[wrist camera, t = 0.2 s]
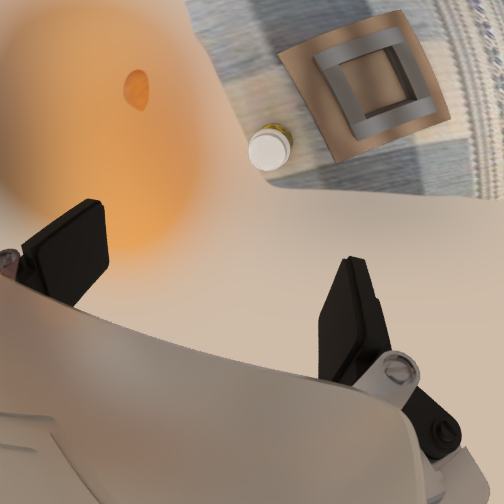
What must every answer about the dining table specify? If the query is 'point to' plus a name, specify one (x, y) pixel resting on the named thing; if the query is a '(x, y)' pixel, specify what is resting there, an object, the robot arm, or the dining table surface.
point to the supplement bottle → (270, 147)
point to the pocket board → (366, 84)
